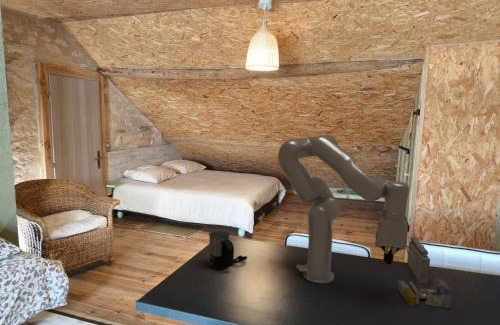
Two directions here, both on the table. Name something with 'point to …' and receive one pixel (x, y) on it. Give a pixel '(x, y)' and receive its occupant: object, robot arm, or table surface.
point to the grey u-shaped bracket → (439, 289)
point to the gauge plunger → (421, 295)
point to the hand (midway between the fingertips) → (387, 262)
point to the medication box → (406, 292)
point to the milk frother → (222, 251)
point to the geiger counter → (418, 260)
